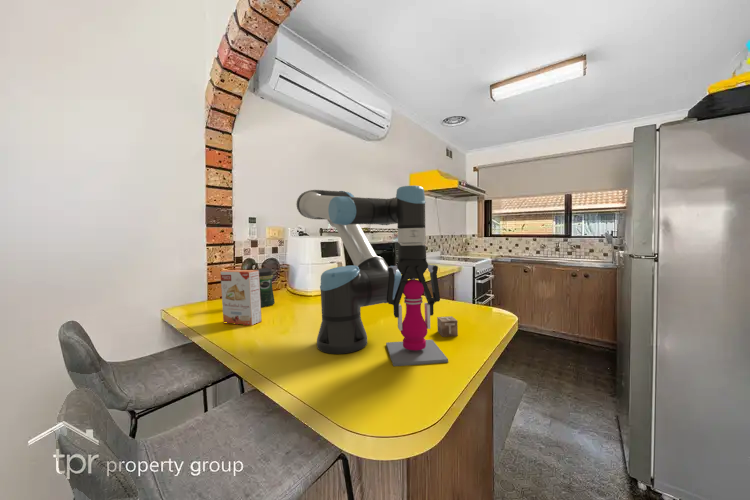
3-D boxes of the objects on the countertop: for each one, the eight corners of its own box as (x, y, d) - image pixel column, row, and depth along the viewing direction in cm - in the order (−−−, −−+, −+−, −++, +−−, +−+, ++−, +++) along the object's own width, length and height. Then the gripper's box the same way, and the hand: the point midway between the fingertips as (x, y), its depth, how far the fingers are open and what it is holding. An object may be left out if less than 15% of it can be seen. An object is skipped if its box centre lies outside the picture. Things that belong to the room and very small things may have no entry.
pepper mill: (427, 352, 75) (425, 275, 74) (399, 350, 76) (397, 275, 75) (428, 341, 82) (426, 272, 81) (402, 340, 83) (400, 272, 82)
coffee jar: (271, 302, 148) (269, 266, 147) (276, 305, 142) (274, 268, 141) (251, 305, 143) (249, 268, 142) (255, 308, 136) (253, 269, 135)
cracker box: (222, 324, 113) (219, 271, 112) (234, 319, 118) (231, 269, 117) (251, 326, 108) (248, 271, 107) (262, 321, 114) (259, 269, 113)
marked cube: (442, 337, 91) (442, 321, 91) (437, 331, 96) (437, 316, 96) (457, 336, 91) (457, 320, 91) (452, 331, 96) (451, 315, 96)
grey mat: (393, 366, 71) (393, 363, 71) (386, 345, 85) (386, 342, 85) (448, 362, 73) (448, 359, 73) (432, 342, 86) (432, 339, 86)
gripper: (376, 246, 73) (379, 334, 74) (452, 243, 75) (454, 330, 76) (374, 245, 80) (376, 325, 81) (443, 242, 82) (444, 321, 83)
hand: (413, 327), depth 79 cm, fingers closed on pepper mill, 7 cm apart
